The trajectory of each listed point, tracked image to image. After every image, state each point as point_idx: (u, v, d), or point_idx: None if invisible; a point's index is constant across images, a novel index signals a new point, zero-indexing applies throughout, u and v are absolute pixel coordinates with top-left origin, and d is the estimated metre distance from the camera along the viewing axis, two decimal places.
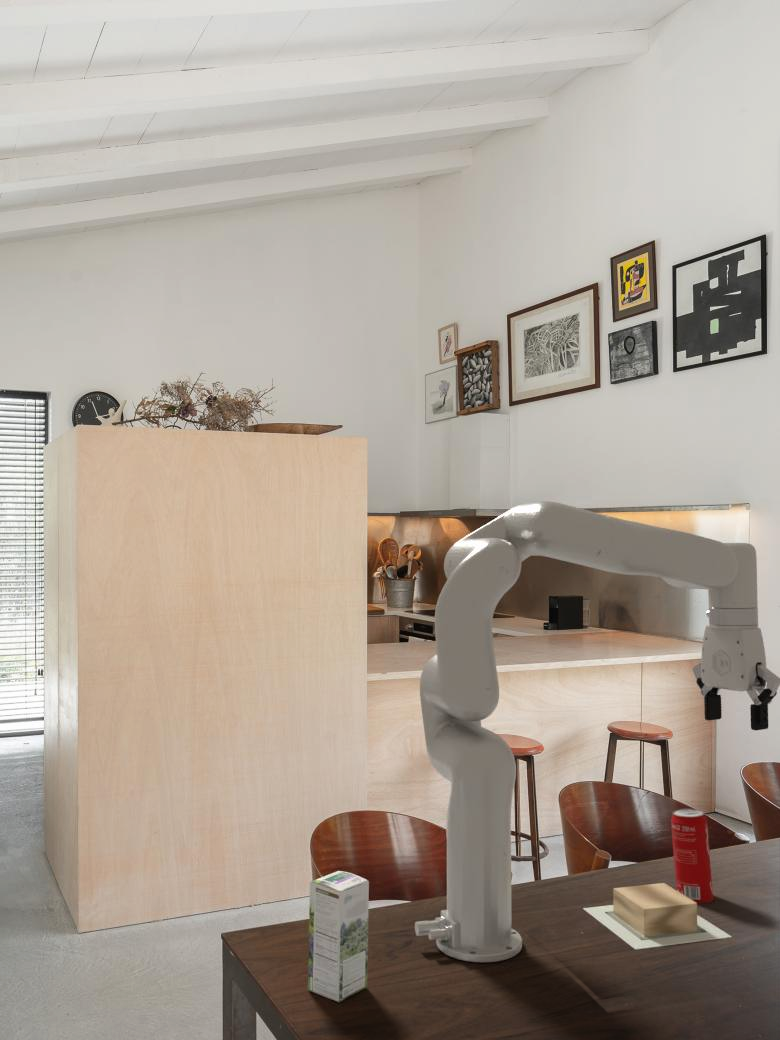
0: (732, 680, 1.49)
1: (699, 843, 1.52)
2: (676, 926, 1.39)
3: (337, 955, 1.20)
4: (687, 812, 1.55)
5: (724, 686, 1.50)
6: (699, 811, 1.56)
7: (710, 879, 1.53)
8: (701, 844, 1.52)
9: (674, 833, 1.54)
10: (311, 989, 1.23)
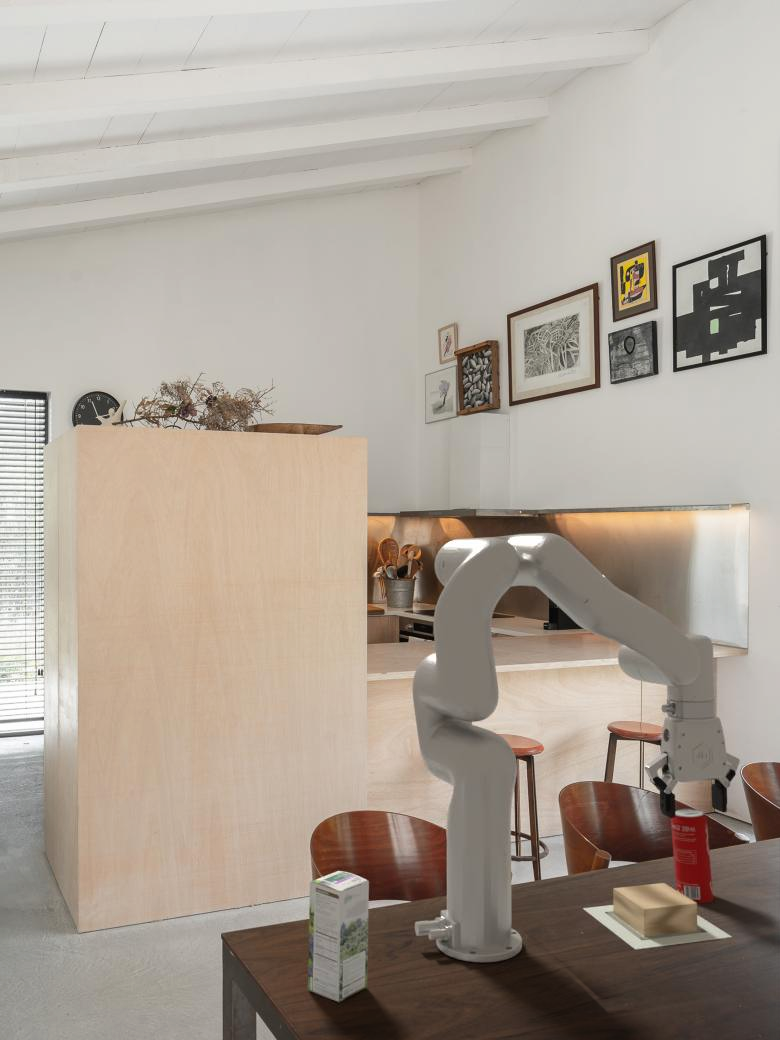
0: (714, 770, 1.53)
1: (699, 843, 1.52)
2: (676, 926, 1.39)
3: (337, 955, 1.20)
4: (687, 812, 1.55)
5: (705, 778, 1.53)
6: (699, 811, 1.56)
7: (710, 879, 1.53)
8: (701, 844, 1.52)
9: (674, 833, 1.54)
10: (311, 989, 1.23)
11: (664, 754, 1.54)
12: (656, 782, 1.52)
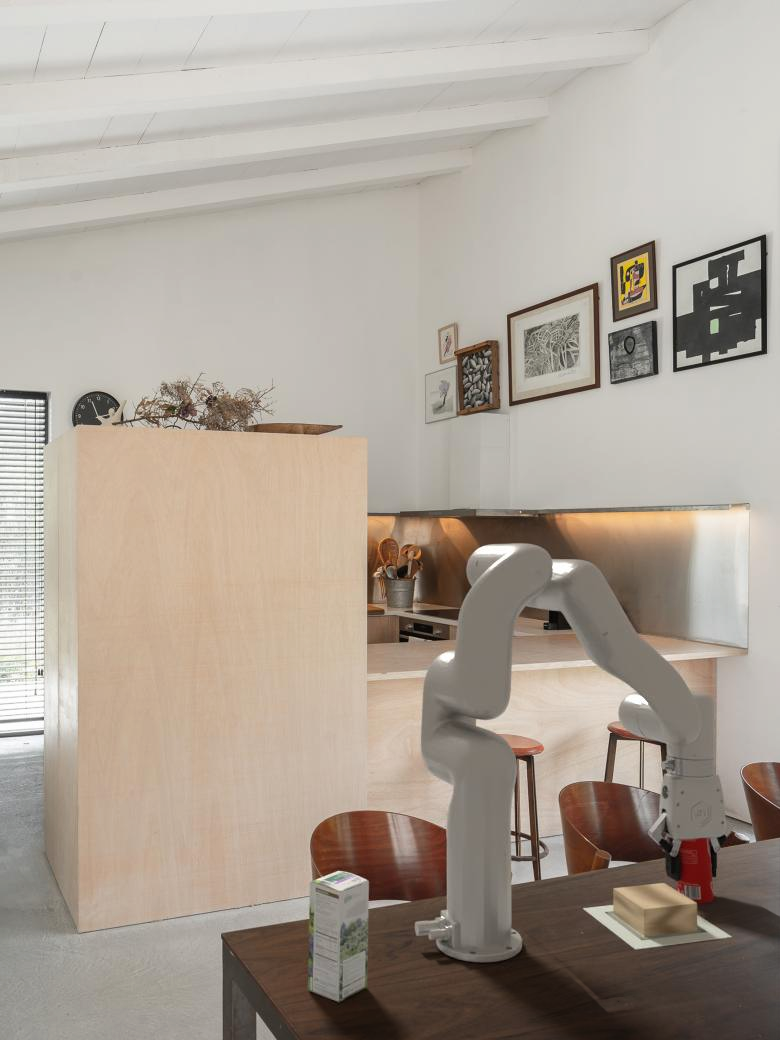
0: (712, 828, 1.53)
1: (699, 843, 1.52)
2: (676, 926, 1.39)
3: (337, 955, 1.20)
4: None
5: (703, 836, 1.52)
6: None
7: (711, 879, 1.53)
8: (701, 844, 1.52)
9: None
10: (311, 989, 1.23)
11: (663, 814, 1.54)
12: (662, 844, 1.52)
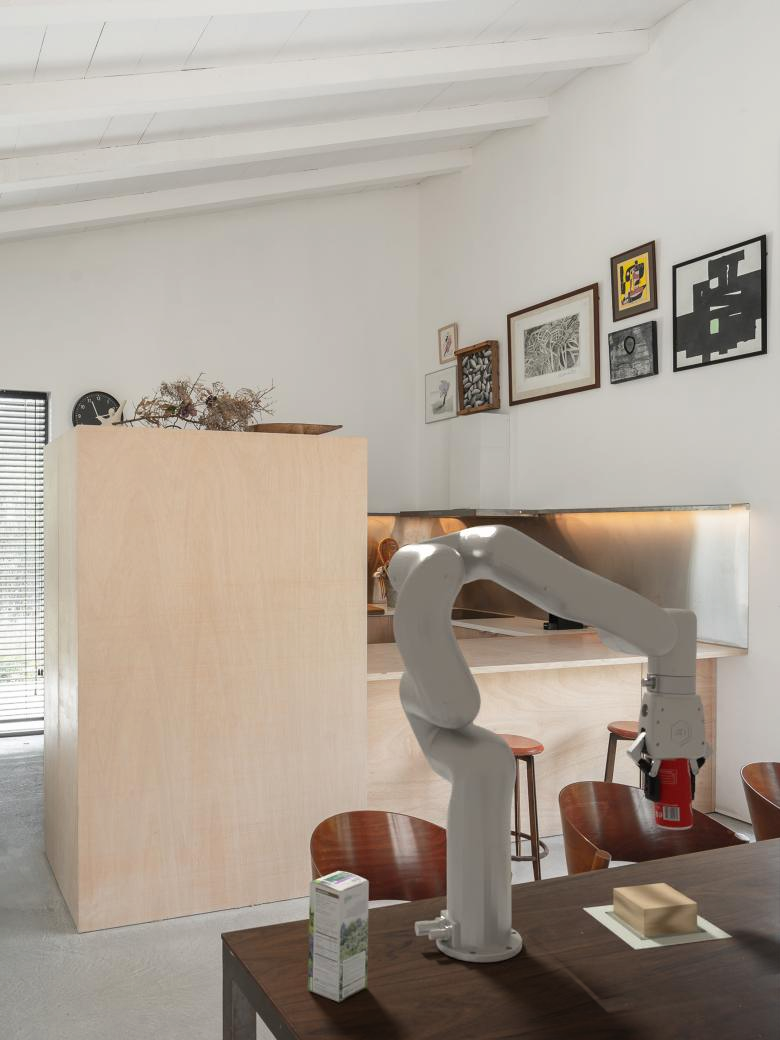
0: (692, 748, 1.48)
1: (679, 763, 1.47)
2: (676, 926, 1.39)
3: (337, 955, 1.20)
4: None
5: (683, 756, 1.47)
6: None
7: (690, 801, 1.48)
8: (682, 763, 1.47)
9: None
10: (311, 989, 1.23)
11: (642, 734, 1.48)
12: (641, 764, 1.47)
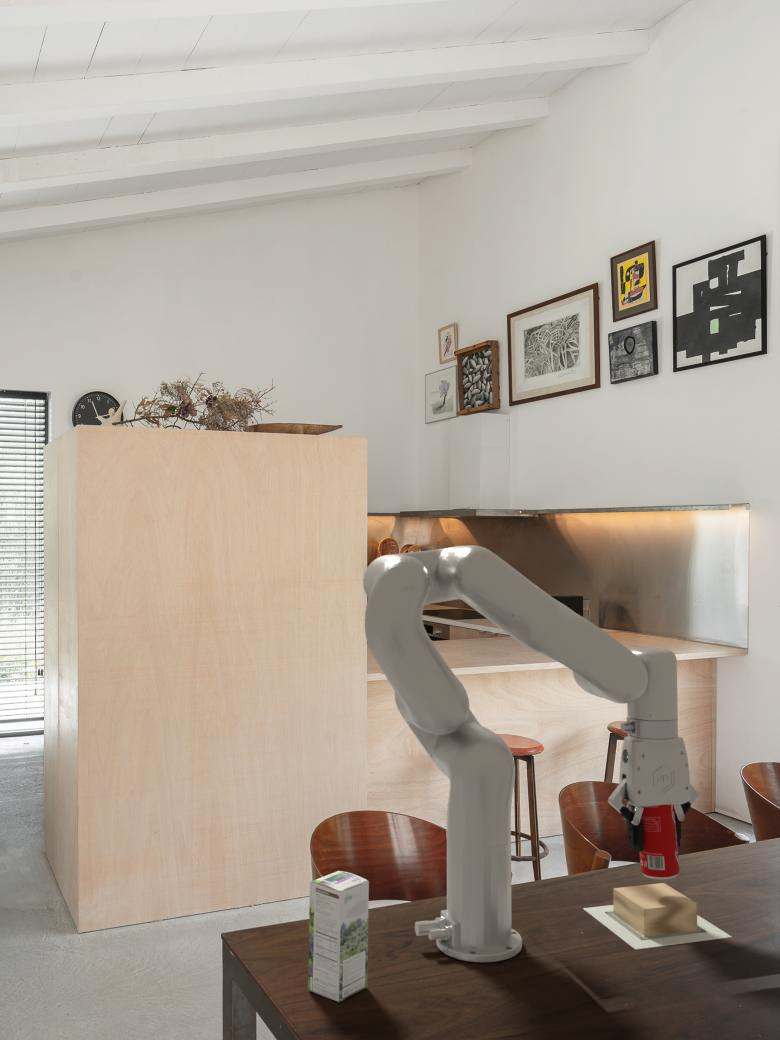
0: (676, 794, 1.42)
1: (663, 810, 1.41)
2: (676, 926, 1.39)
3: (337, 955, 1.20)
4: None
5: (666, 803, 1.42)
6: None
7: (675, 848, 1.42)
8: (665, 810, 1.42)
9: None
10: (311, 989, 1.23)
11: (624, 780, 1.43)
12: (623, 812, 1.42)
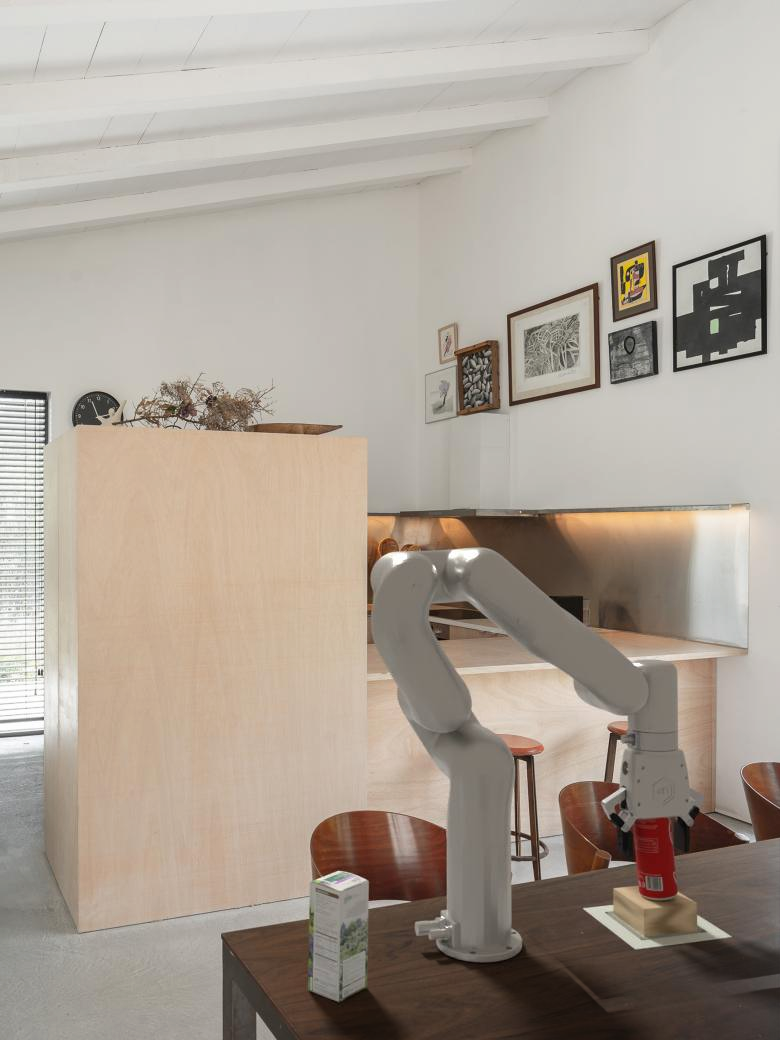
0: (676, 807, 1.42)
1: (660, 831, 1.41)
2: (676, 926, 1.39)
3: (337, 955, 1.20)
4: None
5: (666, 815, 1.42)
6: None
7: (673, 869, 1.42)
8: (663, 831, 1.41)
9: (635, 820, 1.43)
10: (311, 989, 1.23)
11: (622, 788, 1.43)
12: (613, 819, 1.41)
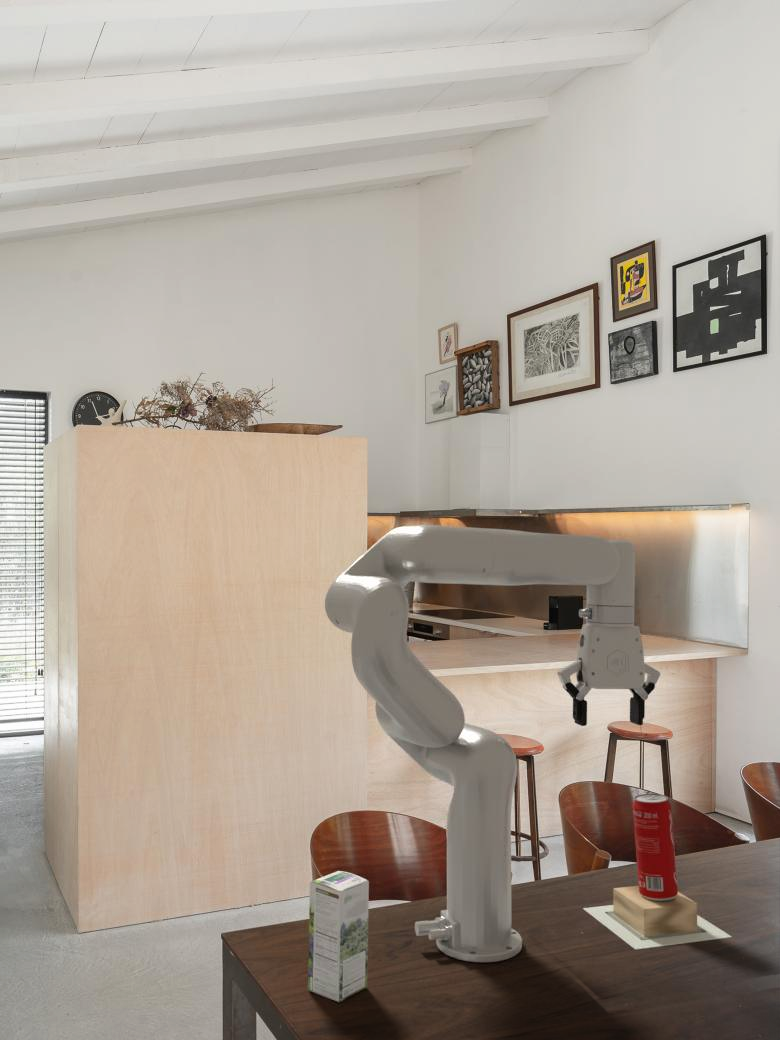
0: (629, 678, 1.48)
1: (662, 831, 1.41)
2: (676, 926, 1.39)
3: (337, 955, 1.20)
4: (650, 798, 1.44)
5: (620, 686, 1.47)
6: (663, 796, 1.45)
7: (674, 869, 1.42)
8: (664, 831, 1.41)
9: (636, 820, 1.43)
10: (311, 989, 1.23)
11: (579, 660, 1.49)
12: (568, 687, 1.47)
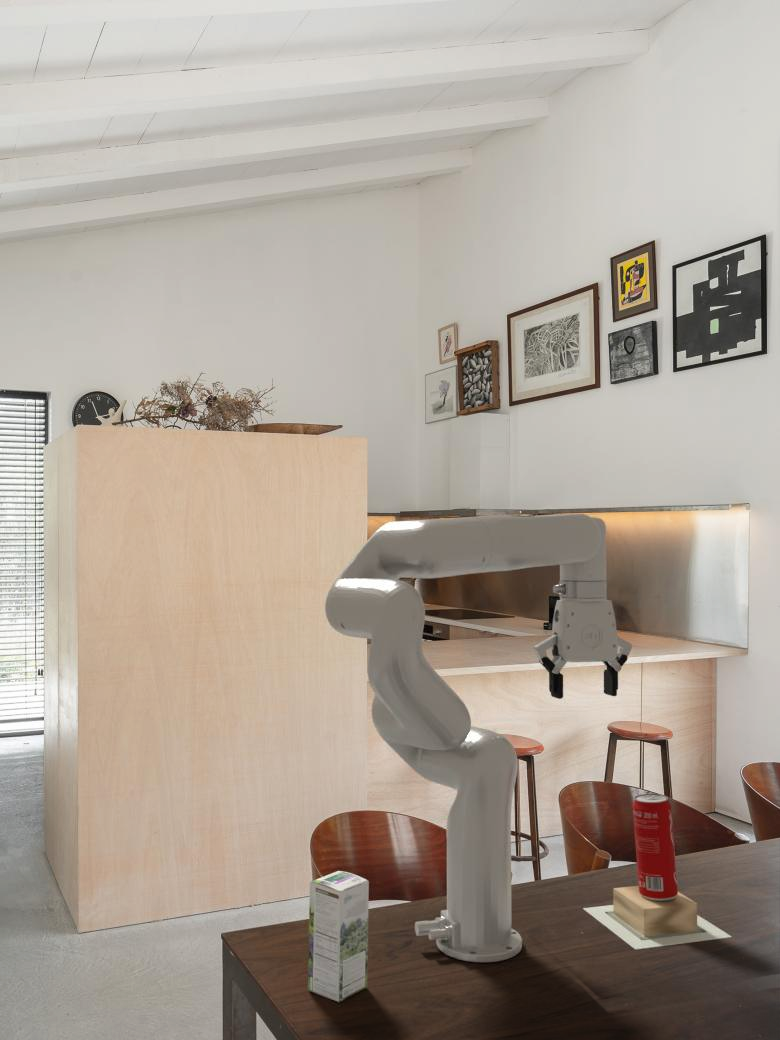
0: (603, 651, 1.52)
1: (662, 831, 1.41)
2: (676, 926, 1.39)
3: (337, 955, 1.20)
4: (650, 798, 1.44)
5: (594, 658, 1.51)
6: (663, 796, 1.45)
7: (674, 869, 1.42)
8: (664, 831, 1.41)
9: (636, 820, 1.43)
10: (311, 989, 1.23)
11: (554, 635, 1.53)
12: (544, 662, 1.51)
